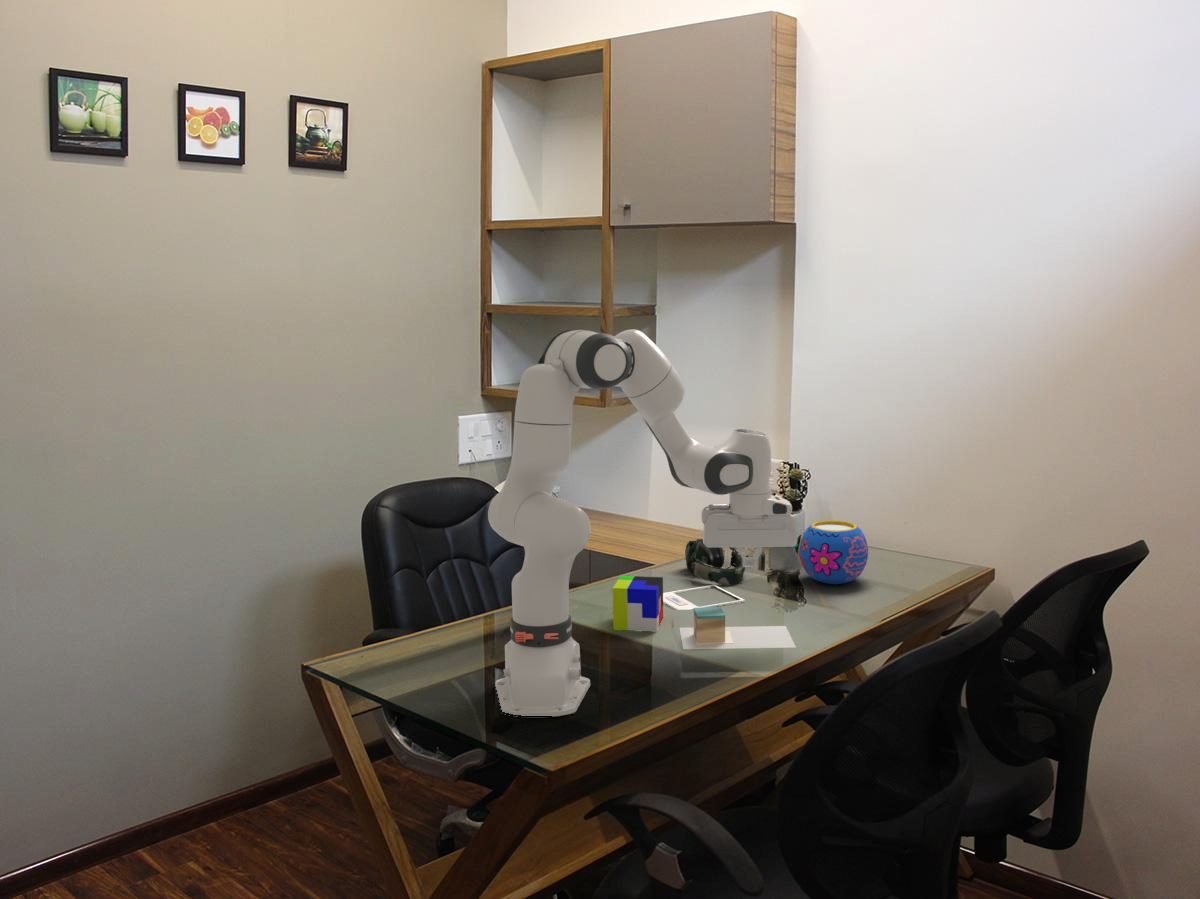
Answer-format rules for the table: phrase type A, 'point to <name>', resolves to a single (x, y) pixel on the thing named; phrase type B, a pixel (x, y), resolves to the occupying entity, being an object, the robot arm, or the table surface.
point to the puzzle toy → (638, 603)
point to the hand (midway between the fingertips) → (749, 566)
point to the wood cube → (709, 624)
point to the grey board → (742, 638)
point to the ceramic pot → (832, 551)
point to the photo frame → (683, 604)
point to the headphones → (713, 563)
